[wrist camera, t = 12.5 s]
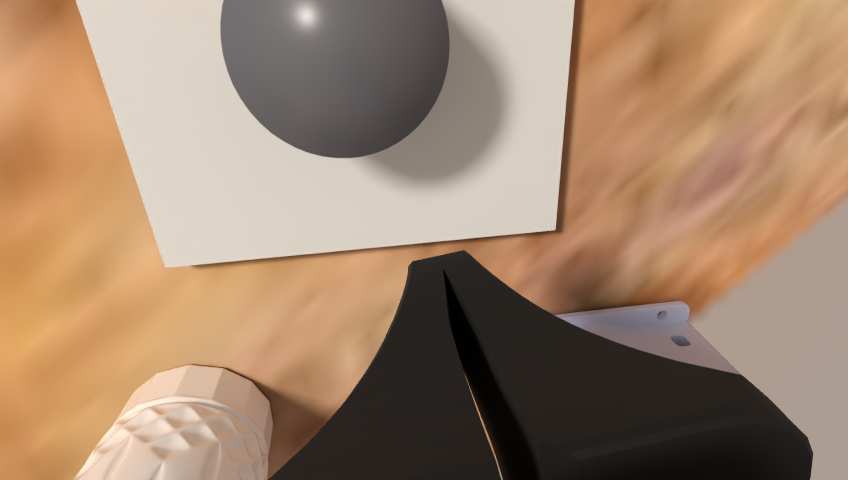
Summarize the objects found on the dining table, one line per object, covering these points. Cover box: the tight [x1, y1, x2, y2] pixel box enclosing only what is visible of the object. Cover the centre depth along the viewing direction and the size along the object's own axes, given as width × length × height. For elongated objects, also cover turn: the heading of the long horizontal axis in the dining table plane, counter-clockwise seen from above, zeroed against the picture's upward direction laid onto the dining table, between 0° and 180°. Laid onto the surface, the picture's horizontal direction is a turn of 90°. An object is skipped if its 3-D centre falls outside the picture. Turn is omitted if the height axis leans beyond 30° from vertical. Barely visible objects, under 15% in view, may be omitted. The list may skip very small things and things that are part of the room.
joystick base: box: [76, 0, 575, 268], centre depth 16 cm, size 16×16×2 cm
